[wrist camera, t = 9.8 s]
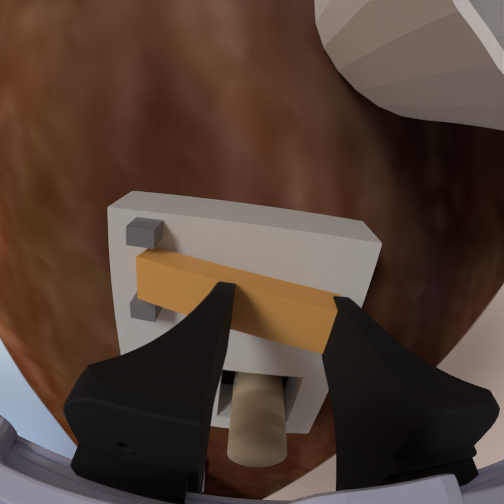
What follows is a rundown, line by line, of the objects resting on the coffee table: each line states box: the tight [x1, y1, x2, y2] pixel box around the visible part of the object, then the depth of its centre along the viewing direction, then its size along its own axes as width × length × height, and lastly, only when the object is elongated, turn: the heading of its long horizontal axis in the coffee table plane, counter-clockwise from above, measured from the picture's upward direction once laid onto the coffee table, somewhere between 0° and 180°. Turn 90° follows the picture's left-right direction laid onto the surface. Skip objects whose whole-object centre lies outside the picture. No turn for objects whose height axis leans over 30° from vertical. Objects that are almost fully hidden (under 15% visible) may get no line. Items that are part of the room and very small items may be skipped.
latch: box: [136, 247, 340, 354], centre depth 12 cm, size 2×8×1 cm, turn 82°
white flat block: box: [108, 191, 382, 433], centre depth 16 cm, size 14×12×4 cm
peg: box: [227, 371, 287, 467], centre depth 17 cm, size 3×3×7 cm
